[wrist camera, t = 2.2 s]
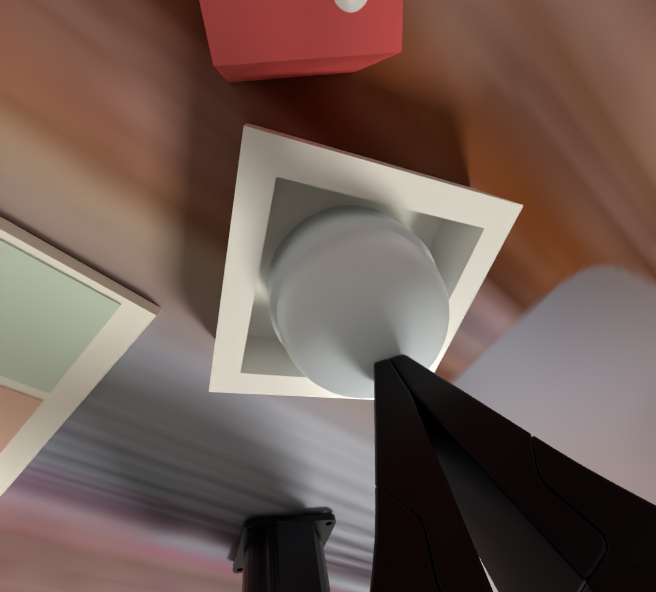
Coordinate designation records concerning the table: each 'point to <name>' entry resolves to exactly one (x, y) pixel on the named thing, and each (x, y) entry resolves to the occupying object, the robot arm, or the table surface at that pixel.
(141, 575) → the table surface
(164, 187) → the table surface
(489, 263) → the base
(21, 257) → the track board
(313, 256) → the dome
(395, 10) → the red die
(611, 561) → the robot arm
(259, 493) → the table surface
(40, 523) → the table surface
